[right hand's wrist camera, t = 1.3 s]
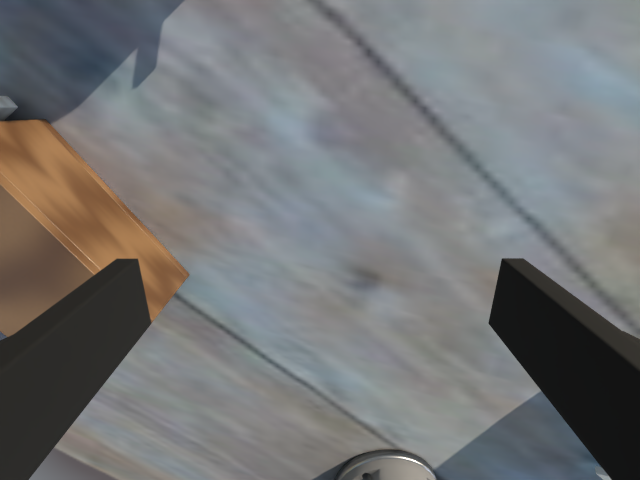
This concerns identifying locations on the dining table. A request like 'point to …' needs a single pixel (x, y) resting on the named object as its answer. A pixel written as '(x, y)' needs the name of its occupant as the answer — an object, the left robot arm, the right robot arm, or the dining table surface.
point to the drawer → (6, 107)
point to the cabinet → (64, 228)
